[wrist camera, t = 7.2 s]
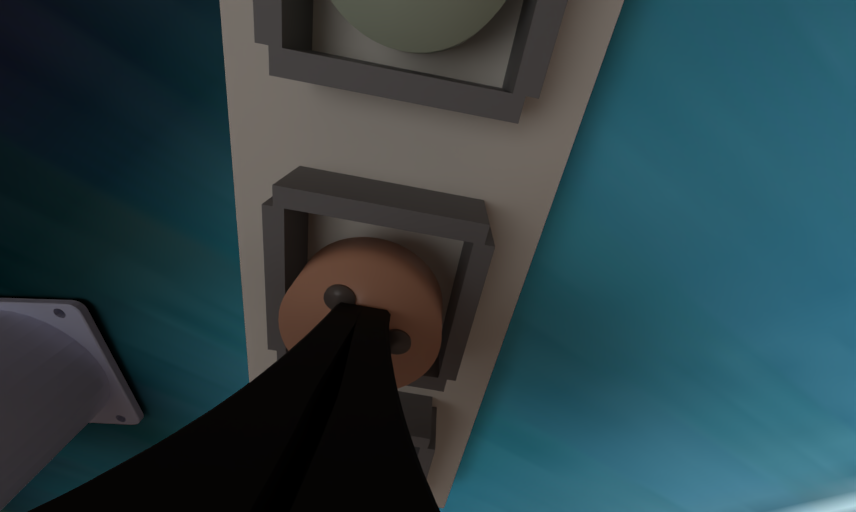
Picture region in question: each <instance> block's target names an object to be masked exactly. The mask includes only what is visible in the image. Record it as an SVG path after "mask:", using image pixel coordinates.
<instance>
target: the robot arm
mask: <svg viewBox="0 0 856 512" xmlns="http://www.w3.org/2000/svg"><path fill="white" fill-rule="evenodd" d="M390 317H391V314H390V313H389V312H388V310H384V309H378V308H372V307H366V306H361V305H355V304H348V303H342V302H340V303H339V304H337V305H336V306H335V307H334V308H333V309H332V310H331V311H330V312H329V313H328V314H327V315H326V316H325V317H324V318H323V319H322V320H321V321H320V322H319V323H318V324H317V325H316V326H315V327H314V328H313V329H312V330H311V331H310V332H309V333H308V334H307V335H306V336H305V337H304V338H302V339H301V340H300V341H299V342H298V343H297V344H296V345H295V346H294V347H292V348H291V349H290V350H289V351H288V352H287V353H286V354H284V355H283V356H282V357H281V358H280V359H278V360H277V361H276V362H275V363H273V364H272V365H271V366H270V367H269V368H267V369H266V370H265V371H264V372H262V373H261V374H260V375H259V376H257V377H256V378H255V379H254V380H252V381H251V382H250V383H248V384H247V385H246V386H244V387H243V388H242V389H240V390H239V391H237V392H236V393H235V394H233V395H232V396H230V397H229V398H227V399H226V400H225V401H223V402H222V403H220V404H219V405H217V406H216V407H214V408H213V409H211V410H210V411H208V412H207V413H205V414H204V415H202V416H201V417H199V418H197V419H196V420H194V421H193V422H191V423H190V424H188V425H186V426H185V427H183V428H182V429H180V430H179V431H177V432H175V433H174V434H172V435H170V436H169V437H167V438H165V439H164V440H162V441H160V442H159V443H157V444H155V445H154V446H152V447H150V448H148V449H147V450H145V451H143V452H141V453H139V454H137V455H136V456H134V457H132V458H130V459H128V460H127V461H125V462H123V463H121V464H119V465H117V466H116V467H114V468H112V469H110V470H108V471H107V472H105V473H103V474H101V475H99V476H97V477H96V478H94V479H92V480H90V481H88V482H86V483H84V484H83V485H81V486H79V487H77V488H75V489H73V490H71V491H69V492H67V493H65V494H63V495H61V496H59V497H57V498H55V499H53V500H51V501H49V502H47V503H45V504H43V505H40V506H38V507H36V508H34V509H32V510H30V511H28V512H440V510H439V508H438V505H437V503H436V501H435V498H434V496H433V493H432V491H431V489H430V486H429V484H428V482H427V479H426V477H425V475H424V472H423V469H422V467H421V464H420V461H419V459H418V456H417V453H416V450H415V447H414V445H413V442H412V439H411V435H410V432H409V429H408V426H407V423H406V420H405V416H404V413H403V409H402V405H401V401H400V397H399V393H398V389H397V385H396V380H395V375H394V369H393V363H392V357H391V350H390V338H389V323H390ZM143 417H144V415H143V412H142V410H141V408H140V406H139V405H138V403H137V401H136V399H135V397H134V395H133V393H132V391H131V390H130V388H129V386H128V384H127V382H126V380H125V378H124V376H123V374H122V373H121V371H120V369H119V367H118V365H117V363H116V361H115V359H114V358H113V356H112V354H111V352H110V350H109V348H108V346H107V344H106V343H105V341H104V339H103V337H102V335H101V333H100V331H99V329H98V328H97V326H96V324H95V322H94V320H93V318H92V316H91V314H90V313H89V311H88V309H87V307H86V306H85V305H84V304H82V303H81V302H79V301H75V300H57V299H25V298H0V511H1V510H2V509H3V508H4V507H5V506H6V505H7V504H8V503H9V502H10V501H11V500H12V499H13V498H14V497H15V496H16V495H17V494H18V493H19V492H20V491H21V490H22V489H23V488H24V487H25V486H26V485H27V484H28V483H29V482H30V481H31V480H32V479H33V478H34V477H35V476H36V475H37V474H38V473H39V472H40V471H41V470H42V469H43V468H44V467H45V466H46V465H47V464H48V463H49V462H50V461H51V460H52V459H53V458H54V457H55V456H56V455H57V454H58V453H59V452H60V451H61V450H62V449H63V448H64V447H65V446H66V445H67V444H68V443H69V442H70V441H71V440H72V439H73V438H74V437H75V436H76V435H77V434H78V433H79V432H80V431H81V430H82V429H83V428H84V427H85V426H86V425H87V424H88V423H108V424H129V425H135V424H138V423H139V422H140V421H141V420H142V419H143Z"/></svg>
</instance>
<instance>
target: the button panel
mask: <svg viewBox="0 0 856 512" xmlns="http://www.w3.org/2000/svg"><path fill="white" fill-rule="evenodd" d="M623 2H624V0H506V1H505V3H504V4H503V6H502V7H501V8H500V10H499V11H498V12H497V13H496V14H495V15H494V16H493V18H492V19H491V20H490V21H489V22H488V23H487V24H486V25H485V26H484V27H483V28H482V29H481V30H480V31H479V32H477V33H476V34H475V35H474V36H473V37H471V38H470V39H468V40H467V41H465V42H464V43H462V44H460V45H458V46H456V47H454V48H451V49H448V50H445V51H442V52H436V53H431V54H417V53H409V52H404V51H399V50H396V49H392V48H389V47H386V46H384V45H382V44H379V43H377V42H375V41H373V40H372V39H370V38H368V37H367V36H365V35H363V34H362V33H361V32H360V31H358V30H357V29H356V28H355V27H353V26H352V25H351V24H350V23H349V22H348V21H347V20H346V19H345V18H344V17H343V16H342V15H341V13H340V12H339V11H338V9H337V8H336V7H335V6H334V4H333V3H332V2H331V0H220V11H221V24H222V37H223V50H224V62H225V75H226V88H227V101H228V114H229V126H230V139H231V152H232V165H233V178H234V190H235V203H236V216H237V229H238V241H239V254H240V267H241V280H242V293H243V305H244V318H245V331H246V344H247V357H248V369H249V382H251V381H252V380H254V379H255V378H256V377H257V376H259V375H260V374H261V373H262V372H264V371H265V370H266V369H267V368H269V367H270V366H271V365H272V364H273V363H275V362H276V361H277V360H278V359H280V358H281V357H282V356H283V355H284V354H286V353H287V352H288V350H287V348H286V346H285V344H284V342H283V340H282V337H281V334H280V330H279V322H278V318H279V309H280V305H281V302H282V300H283V298H284V295H285V294H286V292H287V291H288V289H289V288H290V287H291V285H292V284H293V282H294V281H295V279H296V278H297V277H298V275H299V274H300V272H301V271H302V270H303V268H304V267H305V265H306V264H307V263H308V261H309V260H310V259H311V258H312V257H313V255H314V254H315V253H317V252H318V251H319V250H321V249H322V248H324V247H325V246H327V245H329V244H331V243H333V242H336V241H338V240H342V239H346V238H353V237H373V238H380V239H384V240H388V241H391V242H394V243H396V244H399V245H401V246H403V247H405V248H407V249H408V250H410V251H411V252H413V253H414V254H416V255H417V256H418V257H419V258H421V259H422V260H423V261H424V262H425V263H426V264H427V266H428V267H429V268H430V269H431V271H432V272H433V274H434V275H435V277H436V279H437V281H438V283H439V286H440V289H441V293H442V303H443V308H442V340H441V346H440V350H439V353H438V356H437V358H436V360H435V362H434V363H433V365H432V366H431V367H430V369H429V370H428V371H427V372H426V373H425V374H424V375H423V376H421V377H420V378H418V379H417V380H416V381H414V382H412V383H410V384H408V385H406V386H404V387H401V388H398V393H399V397H400V401H401V405H402V409H403V413H404V416H405V420H406V423H407V426H408V429H409V432H410V435H411V439H412V442H413V445H414V447H415V450H416V453H417V456H418V459H419V461H420V464H421V467H422V469H423V472H424V475H425V477H426V479H427V482H428V484H429V486H430V489H431V491H432V493H433V496H434V498H435V501H436V503H437V505H438V507H439V508H444V506H445V503H446V500H447V498H448V495H449V492H450V489H451V486H452V484H453V481H454V478H455V475H456V472H457V469H458V467H459V464H460V461H461V458H462V455H463V453H464V450H465V447H466V444H467V441H468V438H469V436H470V433H471V430H472V427H473V424H474V422H475V419H476V416H477V413H478V410H479V408H480V405H481V402H482V399H483V396H484V393H485V391H486V388H487V385H488V382H489V379H490V377H491V374H492V371H493V368H494V365H495V362H496V360H497V357H498V354H499V351H500V348H501V346H502V343H503V340H504V337H505V334H506V331H507V329H508V326H509V323H510V320H511V317H512V315H513V312H514V309H515V306H516V303H517V301H518V298H519V295H520V292H521V289H522V286H523V284H524V281H525V278H526V275H527V272H528V270H529V267H530V264H531V261H532V258H533V255H534V253H535V250H536V247H537V244H538V241H539V239H540V236H541V233H542V230H543V227H544V224H545V222H546V219H547V216H548V213H549V210H550V208H551V205H552V202H553V199H554V196H555V194H556V191H557V188H558V185H559V182H560V179H561V177H562V174H563V171H564V168H565V165H566V163H567V160H568V157H569V154H570V151H571V148H572V146H573V143H574V140H575V137H576V134H577V132H578V129H579V126H580V123H581V120H582V117H583V115H584V112H585V109H586V106H587V103H588V101H589V98H590V95H591V92H592V89H593V87H594V84H595V81H596V78H597V75H598V72H599V70H600V67H601V64H602V61H603V58H604V56H605V53H606V50H607V47H608V44H609V41H610V39H611V36H612V33H613V30H614V27H615V25H616V22H617V19H618V16H619V13H620V10H621V8H622V5H623Z"/></svg>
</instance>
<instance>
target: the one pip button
mask: <svg viewBox="0 0 856 512" xmlns="http://www.w3.org/2000/svg"><path fill="white" fill-rule="evenodd" d="M505 1H506V0H331V2H332V3H333V4H334V6H335V7H336V8H337V9H338V11H339V12H340V13H341V15H342V16H343V17H344V18H345V19H346V20H347V21H348V22H349V23H350V24H351V25H352V26H353V27H355V28H356V29H357V30H358V31H360V32H361V33H362V34H363V35H365V36H367V37H368V38H370V39H372V40H373V41H375V42H377V43H379V44H382V45H384V46H386V47H389V48H392V49H396V50H399V51H404V52H409V53H417V54H431V53H436V52H442V51H445V50H448V49H451V48H454V47H456V46H458V45H460V44H462V43H464V42H465V41H467V40H468V39H470V38H471V37H473V36H474V35H475V34H476V33H477V32H479V31H480V30H481V29H482V28H483V27H484V26H485V25H486V24H487V23H488V22H489V21H490V20H491V19H492V18H493V16H494V15H495V14H496V13H497V12H498V11H499V10H500V8H501V7H502V6H503V4H504V3H505Z"/></svg>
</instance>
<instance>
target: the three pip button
mask: <svg viewBox="0 0 856 512" xmlns="http://www.w3.org/2000/svg"><path fill="white" fill-rule="evenodd" d="M340 302H342V303H348V304H355V305H361V306H366V307H372V308H378V309H384V310H388V312H389V313H390V314H391V317H390V323H389V338H390V350H391V357H392V363H393V369H394V375H395V380H396V385H397V389H398V388H401V387H404V386H406V385H408V384H410V383H412V382H414V381H416V380H417V379H418V378H420V377H421V376H423V375H424V374H425V373H426V372H427V371H428V370H429V369H430V367H431V366H432V365H433V363H434V362H435V360H436V358H437V356H438V353H439V350H440V346H441V340H442V308H443V303H442V293H441V289H440V286H439V283H438V281H437V279H436V277H435V275H434V274H433V272H432V271H431V269H430V268H429V267H428V266H427V264H426V263H425V262H424V261H423V260H422V259H421V258H419V257H418V256H417V255H416V254H414V253H413V252H411V251H410V250H408V249H407V248H405V247H403V246H401V245H399V244H396V243H394V242H391V241H388V240H384V239H380V238H373V237H353V238H346V239H342V240H338V241H336V242H333V243H331V244H329V245H327V246H325V247H324V248H322V249H321V250H319V251H318V252H317V253H315V254H314V255H313V257H312V258H311V259H310V260H309V261H308V263H307V264H306V265H305V267H304V268H303V270H302V271H301V272H300V274H299V275H298V277H297V278H296V279H295V281H294V282H293V284H292V285H291V287H290V288H289V289H288V291H287V292H286V294H285V295H284V298H283V300H282V302H281V305H280V309H279V318H278V322H279V330H280V334H281V337H282V340H283V342H284V344H285V346H286V348H287V350H288V351H289V350H290V349H291V348H292V347H294V346H295V345H296V344H297V343H298V342H299V341H300V340H301V339H302V338H304V337H305V336H306V335H307V334H308V333H309V332H310V331H311V330H312V329H313V328H314V327H315V326H316V325H317V324H318V323H319V322H320V321H321V320H322V319H323V318H324V317H325V316H326V315H327V314H328V313H329V312H330V311H331V310H332V309H333V308H334V307H335V306H336V305H337V304H339V303H340Z"/></svg>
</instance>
